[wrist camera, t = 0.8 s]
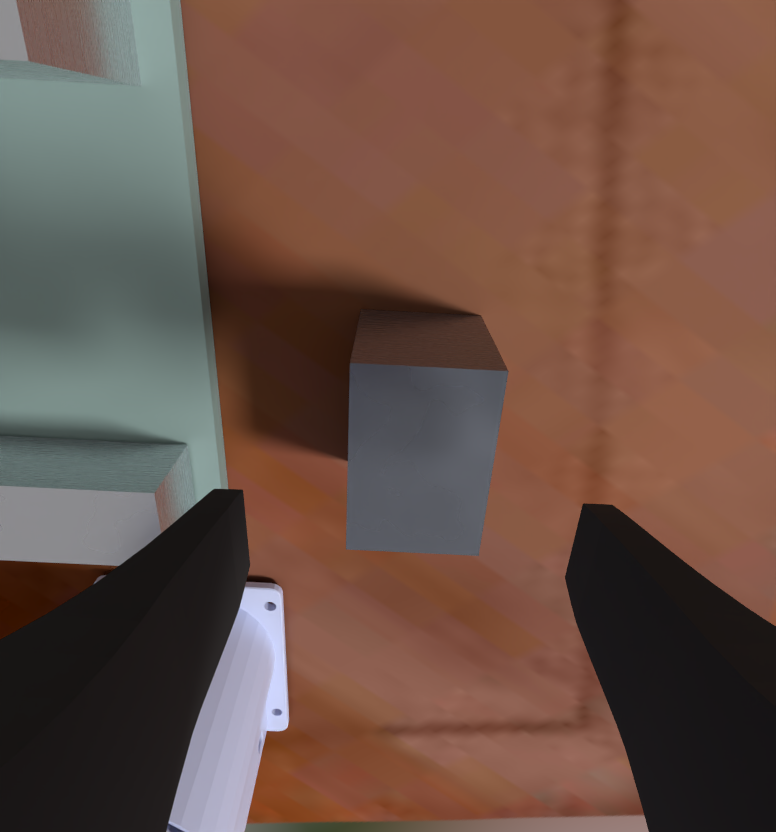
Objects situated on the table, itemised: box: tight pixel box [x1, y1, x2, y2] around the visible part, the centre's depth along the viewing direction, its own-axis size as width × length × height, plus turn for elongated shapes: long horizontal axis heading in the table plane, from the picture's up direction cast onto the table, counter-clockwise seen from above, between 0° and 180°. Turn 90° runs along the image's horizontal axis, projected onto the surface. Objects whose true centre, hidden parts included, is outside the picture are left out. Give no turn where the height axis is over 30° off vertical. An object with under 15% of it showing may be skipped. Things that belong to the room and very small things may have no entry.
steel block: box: [346, 309, 508, 556], centre depth 17 cm, size 6×4×5 cm, turn 177°
